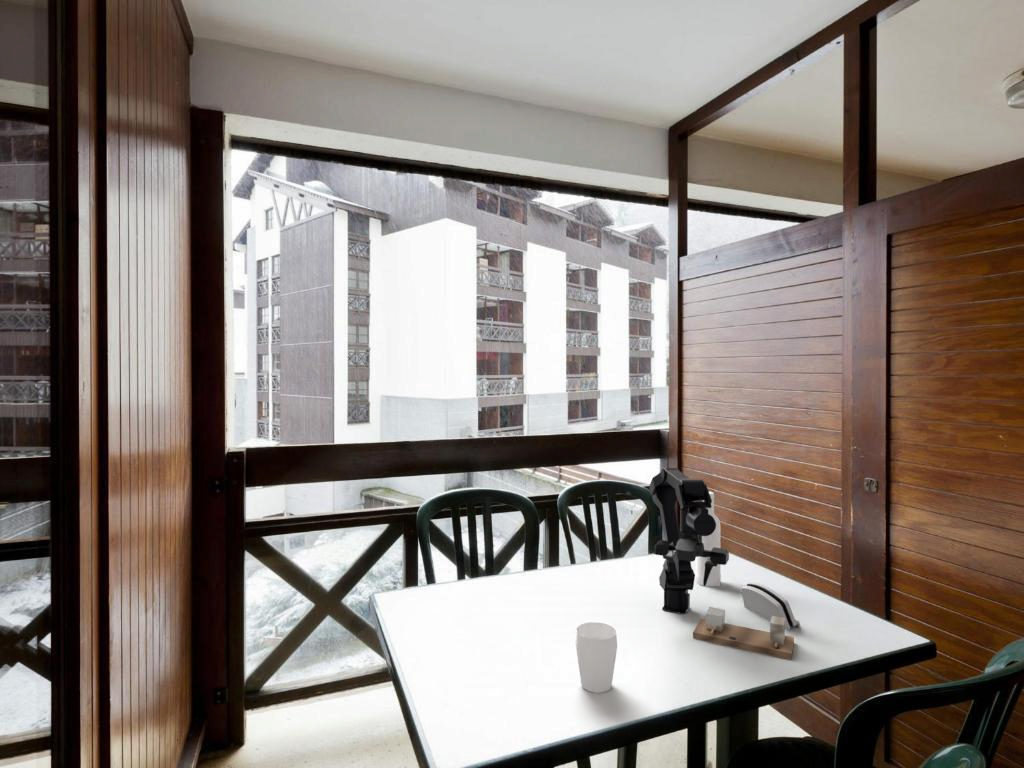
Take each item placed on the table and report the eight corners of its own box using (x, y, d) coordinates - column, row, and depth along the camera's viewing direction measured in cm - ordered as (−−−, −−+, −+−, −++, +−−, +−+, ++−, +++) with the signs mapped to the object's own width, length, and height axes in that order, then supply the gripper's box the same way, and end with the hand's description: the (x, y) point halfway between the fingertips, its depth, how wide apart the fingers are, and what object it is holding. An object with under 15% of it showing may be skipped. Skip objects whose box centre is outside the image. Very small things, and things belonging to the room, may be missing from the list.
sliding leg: (703, 632, 147) (703, 616, 147) (709, 621, 154) (709, 606, 154) (719, 635, 145) (719, 620, 145) (724, 624, 152) (724, 609, 152)
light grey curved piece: (802, 627, 154) (792, 594, 153) (788, 635, 153) (778, 602, 151) (757, 604, 170) (748, 574, 169) (745, 611, 168) (736, 581, 167)
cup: (572, 675, 129) (572, 622, 129) (611, 673, 130) (611, 621, 130) (580, 697, 120) (580, 640, 120) (622, 695, 121) (622, 639, 121)
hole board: (692, 638, 148) (693, 613, 148) (700, 623, 156) (700, 600, 156) (791, 659, 136) (791, 632, 136) (793, 643, 145) (794, 617, 145)
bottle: (719, 579, 191) (719, 490, 191) (722, 587, 183) (722, 495, 183) (694, 577, 193) (694, 489, 193) (696, 585, 185) (696, 494, 185)
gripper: (648, 528, 151) (648, 586, 151) (722, 538, 142) (722, 600, 142) (659, 519, 161) (659, 574, 161) (729, 527, 152) (729, 586, 152)
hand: (690, 583), depth 154 cm, fingers open, 7 cm apart
